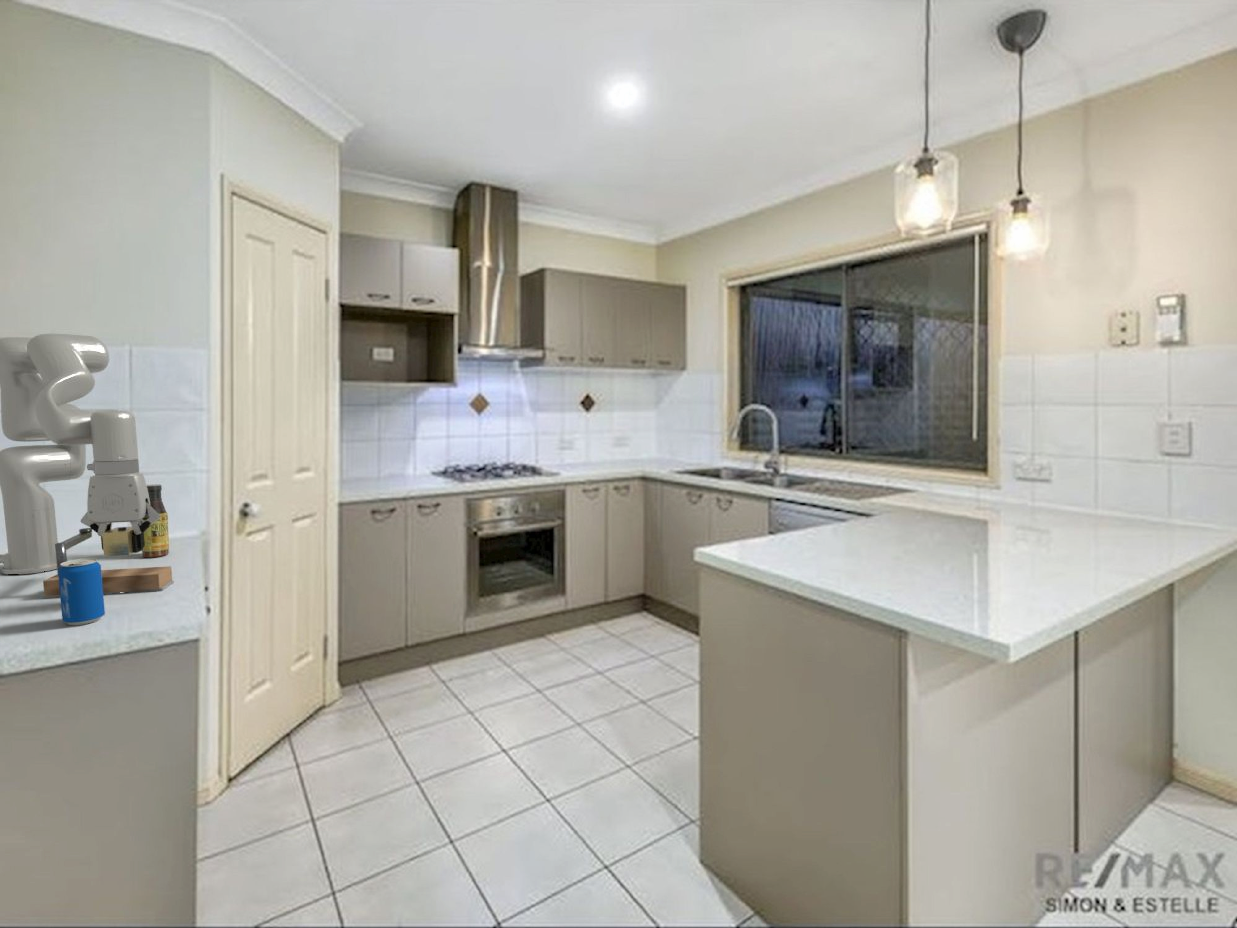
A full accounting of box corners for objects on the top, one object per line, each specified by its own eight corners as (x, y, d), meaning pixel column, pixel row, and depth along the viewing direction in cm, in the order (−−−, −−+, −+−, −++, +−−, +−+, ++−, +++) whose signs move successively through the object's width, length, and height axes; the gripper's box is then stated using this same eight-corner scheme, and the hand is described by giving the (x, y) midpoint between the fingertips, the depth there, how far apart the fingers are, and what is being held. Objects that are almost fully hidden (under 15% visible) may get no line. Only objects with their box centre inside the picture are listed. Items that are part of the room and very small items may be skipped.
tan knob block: (104, 556, 135) (101, 531, 135) (119, 549, 141) (117, 525, 141) (129, 555, 136) (127, 530, 136) (143, 548, 142) (141, 524, 142)
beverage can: (53, 625, 124) (48, 565, 123) (86, 614, 131) (81, 557, 129) (82, 627, 123) (77, 566, 122) (113, 616, 130) (108, 558, 128)
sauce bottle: (155, 559, 175) (149, 487, 173) (136, 557, 176) (130, 486, 174) (176, 553, 181) (171, 483, 179) (157, 552, 182) (152, 483, 180)
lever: (67, 575, 144) (64, 541, 143) (54, 576, 143) (51, 542, 142) (96, 558, 159) (93, 527, 158) (84, 559, 158) (81, 528, 157)
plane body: (42, 598, 141) (40, 581, 140) (61, 589, 147) (59, 572, 147) (161, 591, 146) (160, 574, 146) (174, 582, 153) (173, 566, 153)
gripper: (59, 471, 131) (67, 558, 133) (154, 469, 135) (161, 553, 137) (80, 468, 138) (87, 550, 140) (169, 465, 143) (175, 546, 145)
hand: (124, 551), depth 139 cm, fingers closed on tan knob block, 4 cm apart
